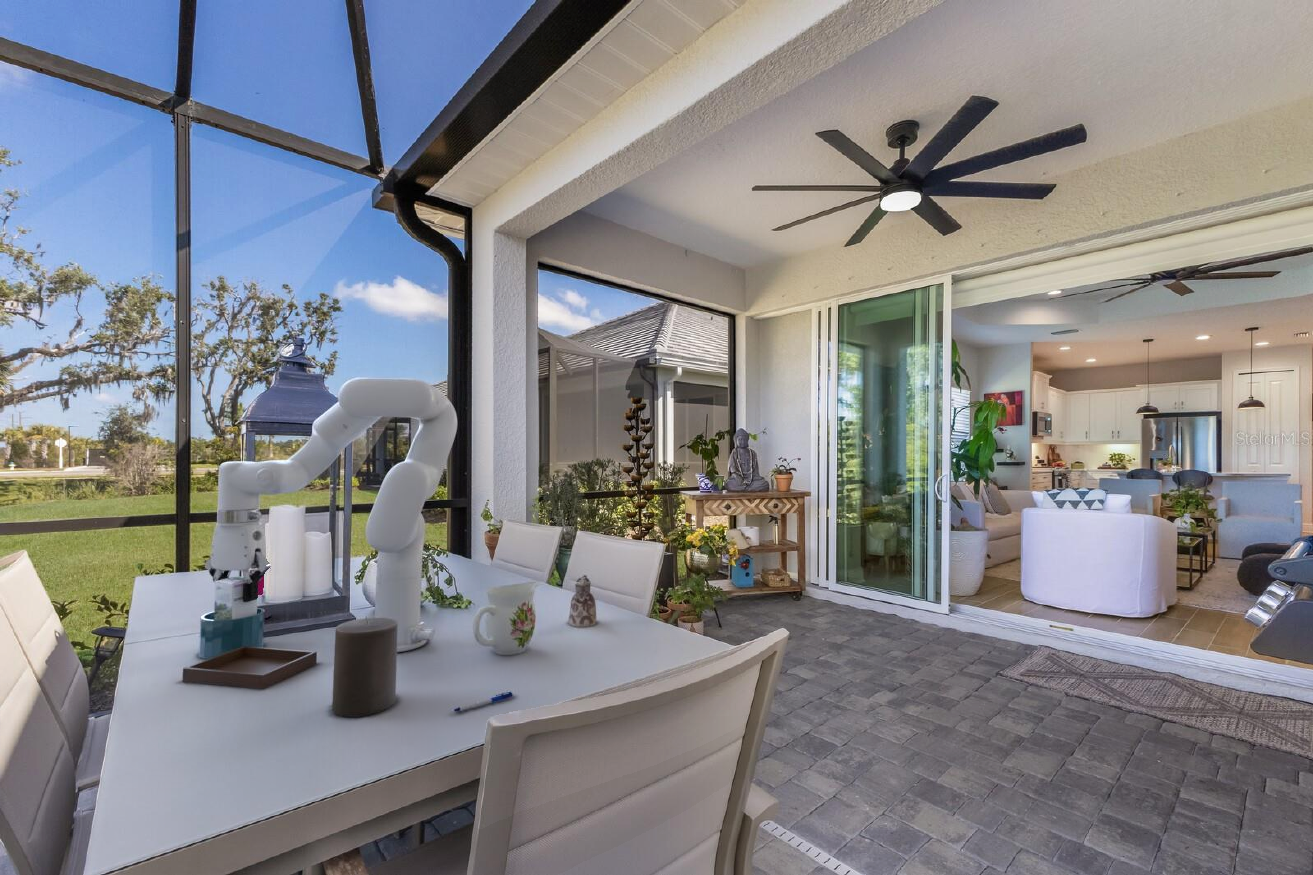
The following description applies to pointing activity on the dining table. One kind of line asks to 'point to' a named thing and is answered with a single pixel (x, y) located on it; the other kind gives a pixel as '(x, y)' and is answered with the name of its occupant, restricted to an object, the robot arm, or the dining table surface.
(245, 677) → the tray
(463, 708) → the ballpoint pen
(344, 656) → the pillar candle
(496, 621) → the pitcher
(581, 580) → the figurine
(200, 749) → the dining table surface
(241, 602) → the syrup box
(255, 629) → the cup
